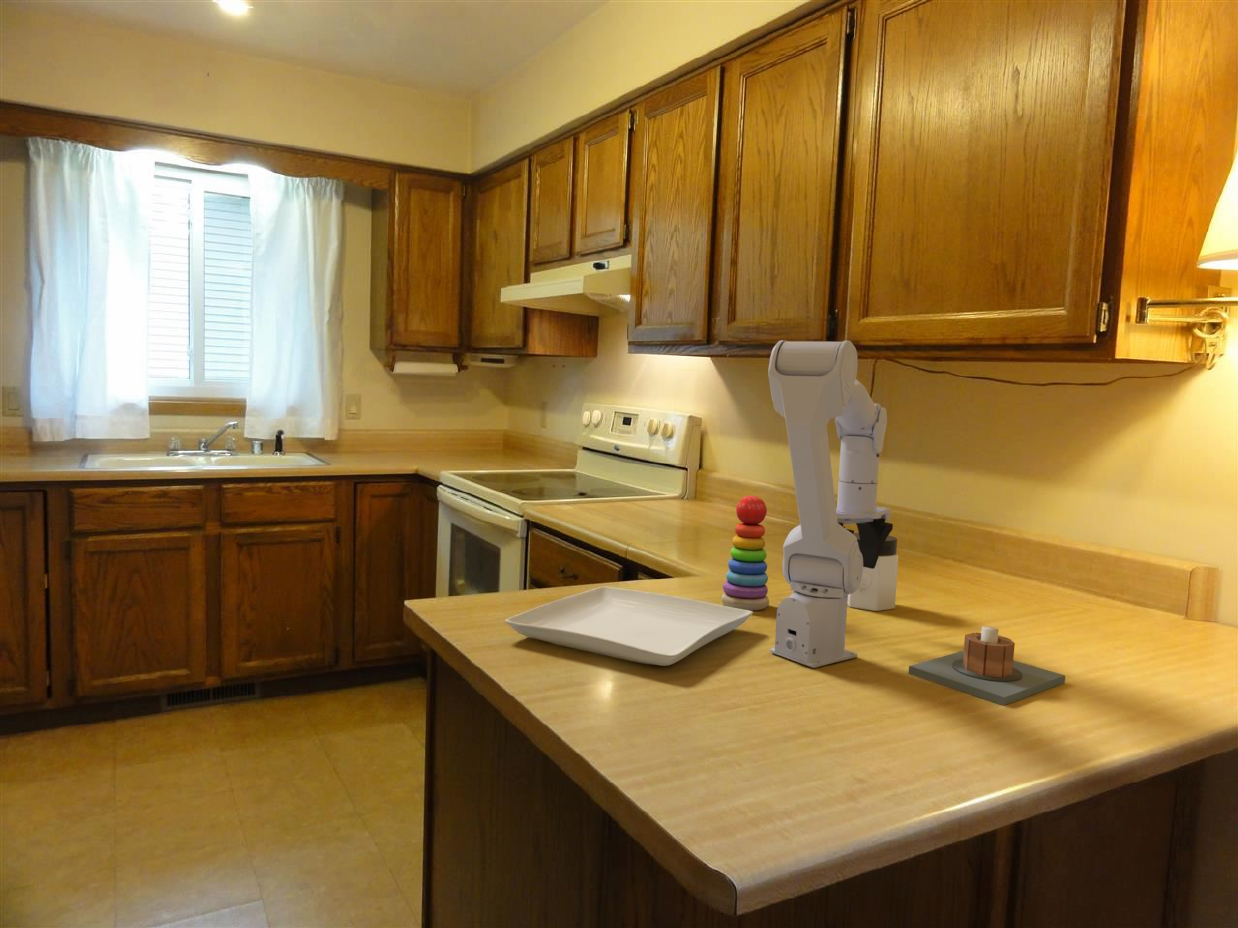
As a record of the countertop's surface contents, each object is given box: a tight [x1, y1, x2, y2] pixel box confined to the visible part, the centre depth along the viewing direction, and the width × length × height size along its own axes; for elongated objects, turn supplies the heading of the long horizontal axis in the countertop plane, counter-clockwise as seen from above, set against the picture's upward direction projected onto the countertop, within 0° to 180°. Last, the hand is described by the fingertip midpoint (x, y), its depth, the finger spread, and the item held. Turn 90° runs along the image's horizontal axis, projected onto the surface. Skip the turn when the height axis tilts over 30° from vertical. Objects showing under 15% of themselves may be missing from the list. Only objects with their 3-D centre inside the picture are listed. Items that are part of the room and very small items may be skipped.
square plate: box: [504, 585, 754, 667], centre depth 123 cm, size 27×27×4 cm
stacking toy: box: [721, 495, 770, 612], centre depth 141 cm, size 8×8×19 cm
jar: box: [847, 532, 899, 612], centre depth 146 cm, size 9×8×12 cm
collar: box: [963, 632, 1016, 677], centre depth 110 cm, size 6×6×4 cm
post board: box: [908, 626, 1066, 706], centre depth 110 cm, size 15×13×7 cm
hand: (852, 569), depth 129 cm, fingers open, 7 cm apart
